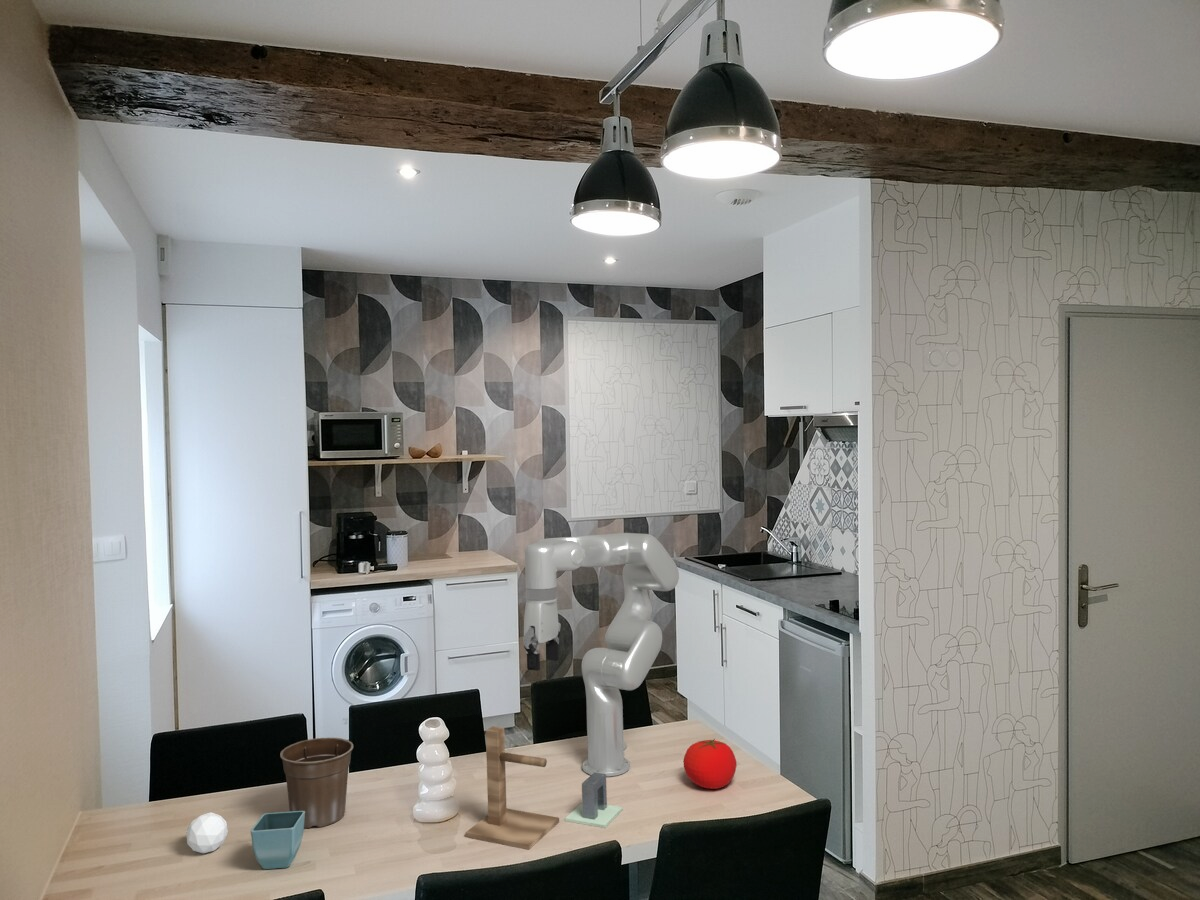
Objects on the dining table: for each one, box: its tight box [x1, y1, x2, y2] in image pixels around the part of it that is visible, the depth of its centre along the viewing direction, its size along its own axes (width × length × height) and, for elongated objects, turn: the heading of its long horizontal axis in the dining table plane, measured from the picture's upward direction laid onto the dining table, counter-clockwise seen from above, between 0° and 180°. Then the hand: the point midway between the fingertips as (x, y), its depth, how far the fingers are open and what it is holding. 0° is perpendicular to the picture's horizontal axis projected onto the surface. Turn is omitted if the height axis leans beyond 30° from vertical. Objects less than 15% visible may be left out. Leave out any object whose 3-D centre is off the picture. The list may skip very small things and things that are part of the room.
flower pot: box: [250, 811, 305, 870], centre depth 174 cm, size 9×9×9 cm
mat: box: [564, 802, 624, 829], centre depth 192 cm, size 10×10×1 cm
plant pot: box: [279, 737, 354, 829], centre depth 195 cm, size 16×16×16 cm
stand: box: [464, 725, 560, 850], centre depth 186 cm, size 14×16×22 cm
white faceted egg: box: [186, 811, 229, 854], centre depth 181 cm, size 8×8×12 cm
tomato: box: [683, 738, 738, 790], centre depth 208 cm, size 12×13×11 cm
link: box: [581, 772, 608, 820], centre depth 192 cm, size 7×3×8 cm, turn 156°
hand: (543, 664), depth 203 cm, fingers open, 9 cm apart
